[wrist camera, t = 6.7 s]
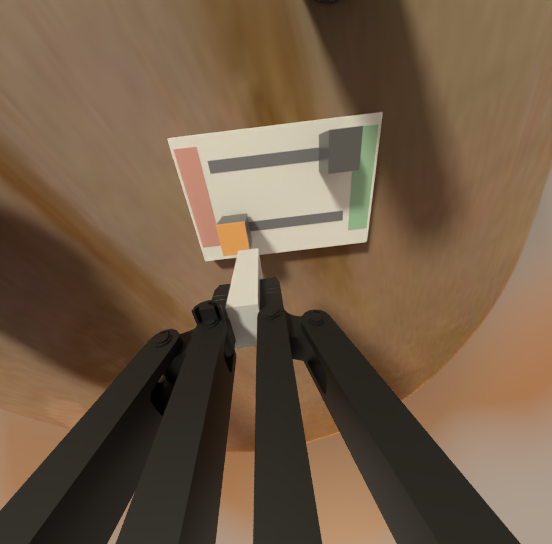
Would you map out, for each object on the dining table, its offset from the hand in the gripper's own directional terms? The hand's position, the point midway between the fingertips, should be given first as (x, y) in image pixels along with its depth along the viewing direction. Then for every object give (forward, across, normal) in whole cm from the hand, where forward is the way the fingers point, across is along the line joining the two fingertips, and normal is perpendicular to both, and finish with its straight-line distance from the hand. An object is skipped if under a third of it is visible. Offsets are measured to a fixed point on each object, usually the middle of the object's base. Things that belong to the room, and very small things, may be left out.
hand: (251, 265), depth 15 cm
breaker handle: (+11, -2, 0) cm, 11 cm away
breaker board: (+13, +4, +3) cm, 14 cm away
